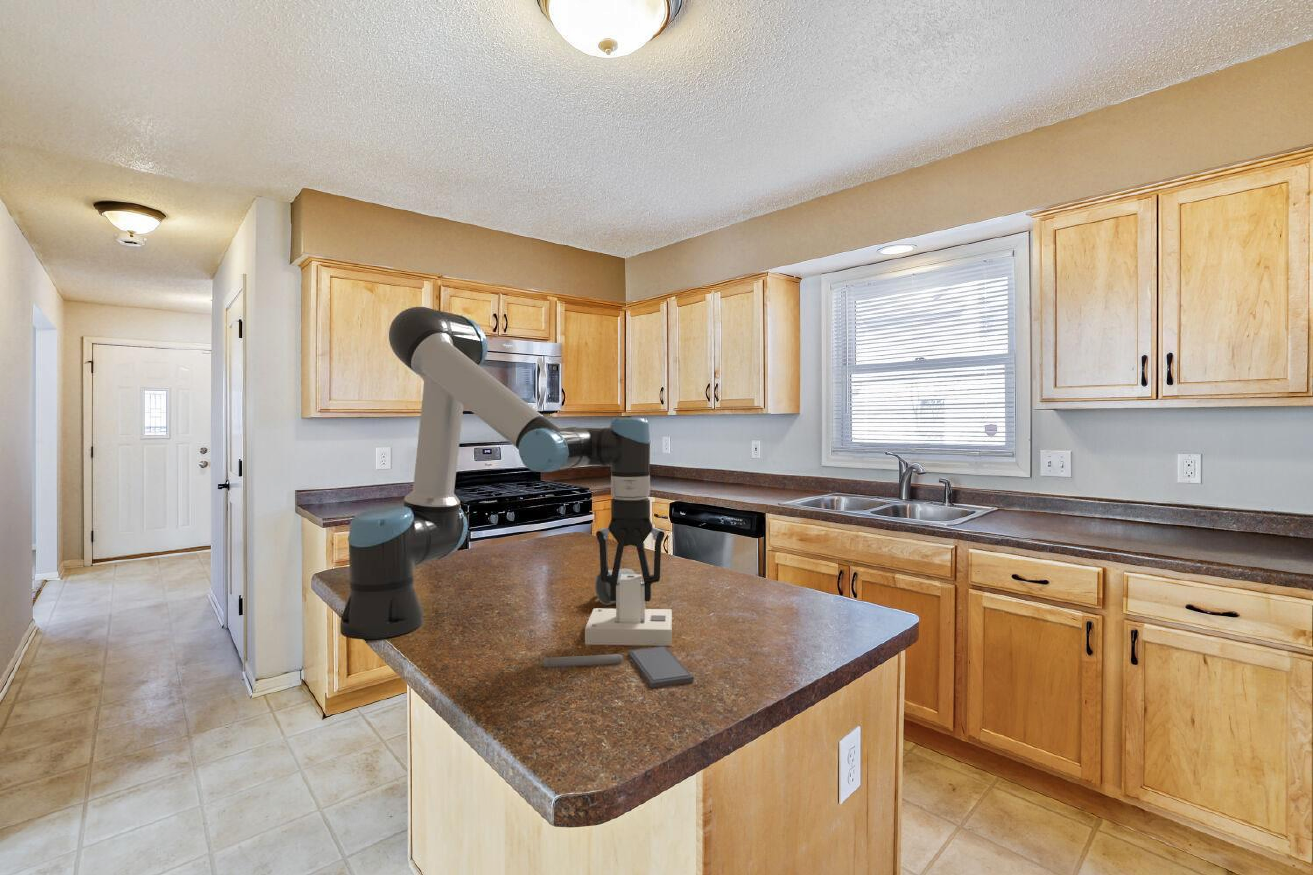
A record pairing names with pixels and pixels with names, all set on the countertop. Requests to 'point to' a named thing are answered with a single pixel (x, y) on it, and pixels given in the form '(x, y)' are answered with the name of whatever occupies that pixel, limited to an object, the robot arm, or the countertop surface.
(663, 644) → the outlet plate
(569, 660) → the grey rod
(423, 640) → the countertop surface
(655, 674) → the phone slab
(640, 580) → the charger block
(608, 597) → the ceramic mug
